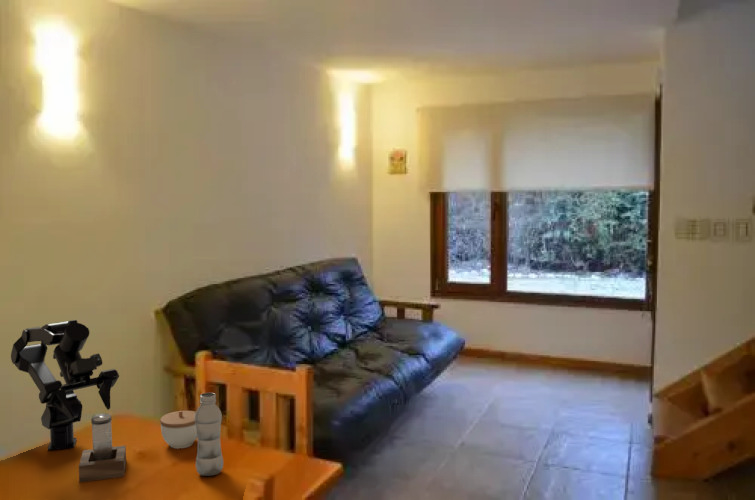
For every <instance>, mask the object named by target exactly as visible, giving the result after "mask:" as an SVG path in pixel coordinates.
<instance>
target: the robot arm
mask: <svg viewBox="0 0 755 500" xmlns="http://www.w3.org/2000/svg"><path fill="white" fill-rule="evenodd" d="M89 336H90V329H89V327H87V326H86V325H85V324H83V323H80V322H78V320H77V319H74V320H73V319H72V320H67V321H60V322H59V321H58V322H53V323H46V324H44V325H42V326H41V327H40V326H33V327H28V328H25V329H23V330H22V332H21V336H20V337H19V338H18V339H16V341H15V342H14V343H13V344H12V348H11V352H10V359H11V363H12V364H13V365H15V367H16V368H17V370H19V371H21V372H23V373H28V375H29V377H30V378H31V380H32V381H33V382H34V384H35V386H36V388H37V389H38V390H39V394H38V398H39V402H40V404H45V409H44V410H43V413H42V415H41V417H40V419H41V425H42V427H44V428H46V429H47V430H49V435H50V436H49V437H50V442H49V444H48V446H47V451H56V450H65V449H73V448H75V445H76V442H77V437H74V423H77V422H81V419H82V412H83V404H82V402H81V400H80V399H79V398H78V395H77V394H76V393H75V392H74V391H77V390H81V389H85V388H89V387H94V386H96V388H97V390H98V391H97V393H98V395H99V396H100V399H101V401H102V403H103V405H104V407H105V409H106V410H107V411H109V410H110V409H111V389H112V388H113V387H114V386H115V385H116V384H117V381H118V380H119V378H120V374H119V372H118V370H116V368H115V369H114V368H110V369H106V370H102V371H100V373H99V374H98V376H97V377H93V378H92V376H93V375H94V371H95V370H98V368H99V367H101V366H102V365H103V359H102V357H101V355H100V353H94V354H92V355H90V356H89V357H87V358H85V357H82V355H81V352H80V351H82V349H84V347H85V344H86V342H87V340H88V338H89ZM33 342H40V343H35V344H29V345H28V343H33ZM54 345H56V346H55V348H54V350H53V355H52V359H54V360H56V362H57V365H58V368H59V370H60V372H59V376H60V377H61V378H62V377H63V379H64V382H65V383H64V384H62V381H61V380H57V378H55V376H54V375H53V373H52V371H51V370H50V368H49V367H48V366H47V364H46V362H45V359H46V355H47V351H48V347H49V346H54Z"/></svg>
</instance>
